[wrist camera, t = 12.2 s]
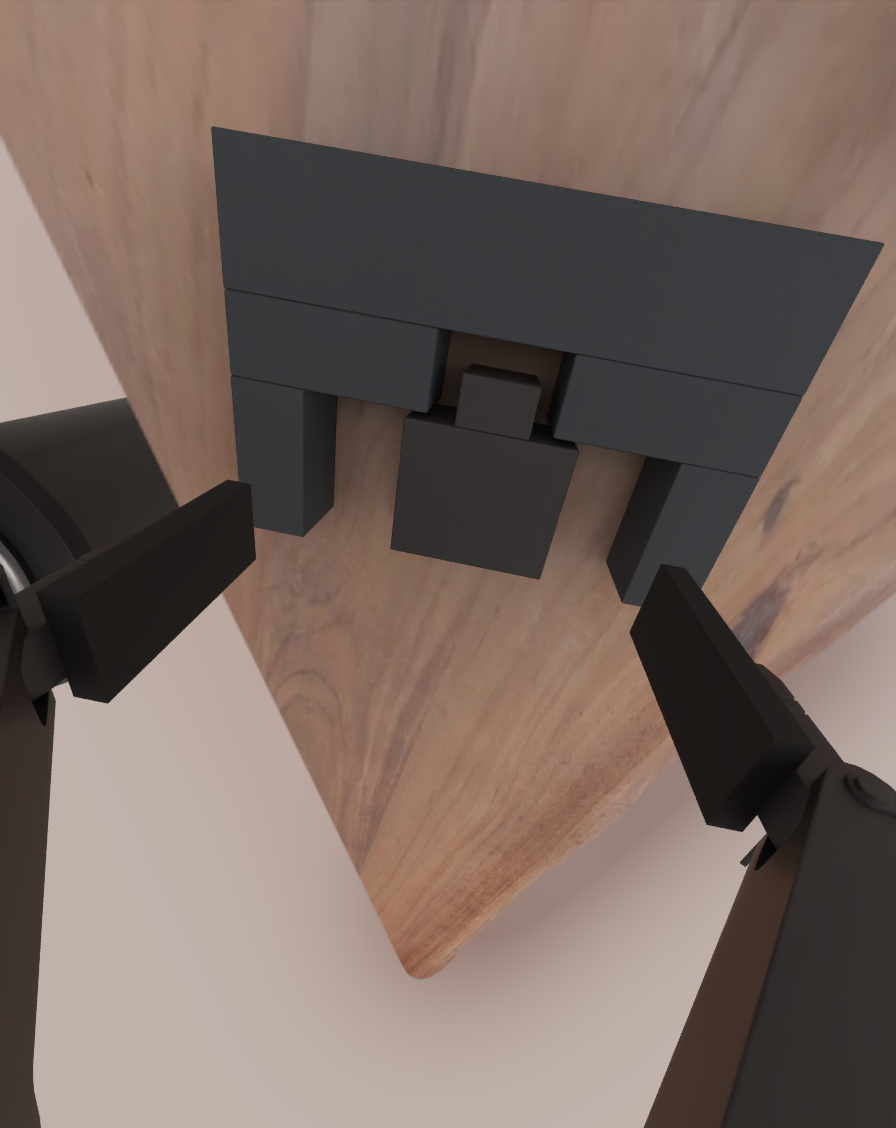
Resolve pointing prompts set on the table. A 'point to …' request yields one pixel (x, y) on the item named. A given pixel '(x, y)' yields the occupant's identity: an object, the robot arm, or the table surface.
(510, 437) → the black block
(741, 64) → the table surface
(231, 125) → the table surface
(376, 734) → the table surface
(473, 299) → the pad base
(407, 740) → the table surface
